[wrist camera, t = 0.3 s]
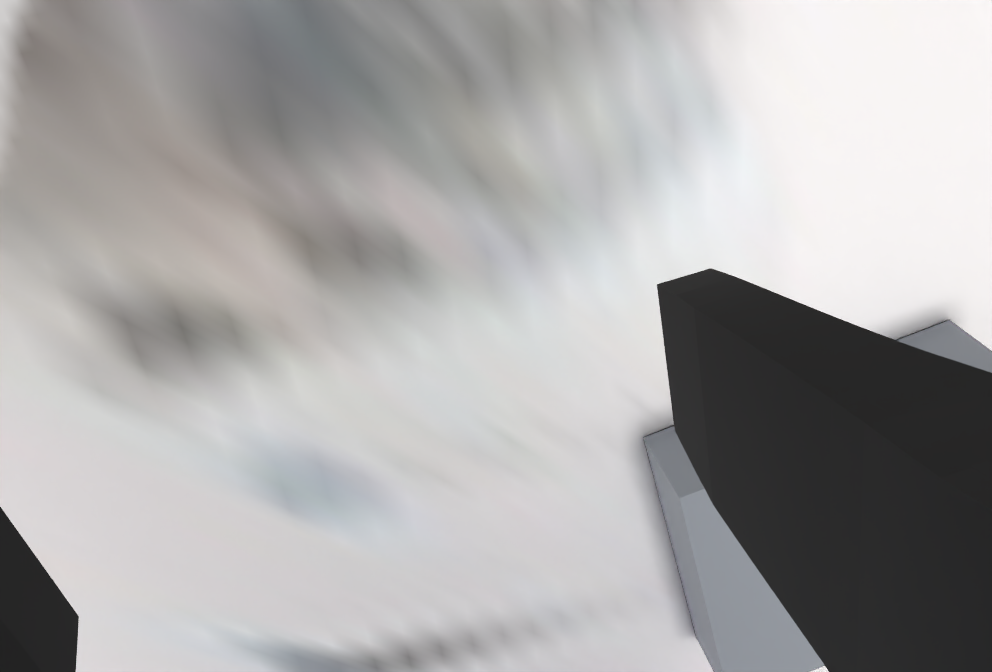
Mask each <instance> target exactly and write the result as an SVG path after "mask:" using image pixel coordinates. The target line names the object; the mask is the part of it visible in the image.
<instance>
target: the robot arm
mask: <svg viewBox="0 0 992 672" xmlns="http://www.w3.org/2000/svg"><path fill="white" fill-rule="evenodd" d="M657 288H658V296H659V305H660V313H661V321H662V329H663V337H664V346H665V354H666V362H667V370H668V378H669V386H670V395H671V403H672V411H673V419H674V427H675V432H676V434H677V436H678V438H679V440H680V442H681V444H682V446H683V448H684V450H685V452H686V454H687V456H688V458H689V460H690V462H691V464H692V466H693V468H694V470H695V472H696V474H697V475H698V477H699V479H700V481H701V483H702V485H703V487H704V489H705V490H706V492H707V494H708V496H709V498H710V500H711V502H712V504H713V505H714V507H715V508H716V510H717V511H718V513H719V514H720V516H721V517H722V519H723V520H724V522H725V523H726V525H727V526H728V527H729V529H730V530H731V532H732V533H733V535H734V536H735V538H736V539H737V540H738V542H739V543H740V545H741V546H742V548H743V549H744V551H745V552H746V553H747V555H748V556H749V558H750V559H751V561H752V562H753V564H754V565H755V566H756V568H757V569H758V571H759V572H760V574H761V575H762V576H763V578H764V579H765V581H766V582H767V584H768V585H769V586H770V588H771V589H772V591H773V592H774V594H775V595H776V596H777V598H778V599H779V601H780V602H781V604H782V605H783V606H784V608H785V609H786V611H787V612H788V614H789V615H790V616H791V618H792V619H793V621H794V622H795V624H796V625H797V626H798V628H799V629H800V631H801V632H802V634H803V635H804V636H805V638H806V639H807V641H808V642H809V644H810V645H811V646H812V648H813V649H814V651H815V652H816V654H817V655H818V656H819V658H820V659H821V661H822V662H823V663H824V665H825V666H826V668H827V669H828V671H829V672H992V373H991V372H988V371H985V370H982V369H979V368H976V367H973V366H970V365H967V364H964V363H961V362H958V361H955V360H952V359H948V358H945V357H942V356H939V355H936V354H933V353H930V352H927V351H924V350H921V349H919V348H916V347H913V346H910V345H907V344H905V343H902V342H899V341H896V340H893V339H891V338H888V337H885V336H883V335H880V334H877V333H875V332H872V331H869V330H867V329H864V328H861V327H859V326H856V325H854V324H851V323H849V322H846V321H843V320H841V319H838V318H836V317H833V316H831V315H828V314H826V313H823V312H821V311H818V310H816V309H813V308H811V307H808V306H806V305H803V304H801V303H798V302H796V301H794V300H791V299H789V298H786V297H784V296H781V295H779V294H776V293H774V292H772V291H769V290H767V289H764V288H762V287H759V286H757V285H754V284H752V283H749V282H747V281H744V280H742V279H739V278H737V277H734V276H731V275H729V274H726V273H723V272H720V271H717V270H714V269H707V270H704V271H701V272H697V273H694V274H691V275H687V276H684V277H680V278H677V279H674V280H670V281H667V282H664V283H660V284H657ZM78 619H79V616H78V615H77V613H76V612H75V611H74V609H73V608H72V606H71V605H70V604H69V602H68V601H67V600H66V598H65V597H64V595H63V594H62V593H61V591H60V590H59V588H58V587H57V586H56V584H55V583H54V581H53V580H52V579H51V577H50V576H49V574H48V573H47V572H46V570H45V569H44V567H43V566H42V565H41V563H40V562H39V560H38V559H37V558H36V556H35V555H34V553H33V552H32V551H31V549H30V548H29V546H28V545H27V544H26V542H25V541H24V539H23V538H22V537H21V535H20V534H19V532H18V531H17V530H16V528H15V527H14V525H13V524H12V523H11V521H10V520H9V518H8V517H7V516H6V514H5V513H4V511H3V510H2V509H1V507H0V672H75V670H76V655H77V637H78Z"/></svg>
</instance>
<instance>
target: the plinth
mask: <svg viewBox="0 0 992 672" xmlns="http://www.w3.org/2000/svg"><path fill="white" fill-rule="evenodd" d="M896 341H899V342H902V343H905V344H907V345H910V346H913V347H916V348H919V349H921V350H924V351H927V352H930V353H933V354H936V355H939V356H942V357H945V358H948V359H952V360H955V361H958V362H961V363H964V364H967V365H970V366H973V367H976V368H979V369H982V370H985V371H988V372H991V373H992V351H991V350H990V349H988V348H987V347H986V346H984V345H983V344H981V343H980V342H979V341H977V340H976V339H975V338H973V337H972V336H971V335H969V334H968V333H967V332H965V331H964V330H963V329H961V328H960V327H958V326H957V325H956V324H954V323H953V322H952V321H950V320H948V321H946V322H943V323H940V324H938V325H935V326H933V327H930V328H927V329H925V330H922V331H920V332H917V333H914V334H912V335H909V336H907V337H904V338H901V339H899V340H896ZM644 442H645V445H646V449H647V453H648V457H649V461H650V464H651V468H652V472H653V476H654V479H655V483H656V487H657V491H658V495H659V498H660V502H661V506H662V510H663V513H664V517H665V521H666V525H667V529H668V532H669V536H670V540H671V544H672V547H673V551H674V555H675V559H676V563H677V566H678V570H679V574H680V578H681V581H682V585H683V589H684V593H685V596H686V600H687V604H688V608H689V612H690V615H691V619H692V623H693V627H694V630H695V634H696V638H697V640H698V642H699V644H700V646H701V648H702V649H703V651H704V653H705V655H706V657H707V659H708V661H709V663H710V665H711V667H712V669H713V671H714V672H810V671H812V670H815V669H817V668H820V667H822V666H825V665H824V663H823V662H822V661H821V659H820V658H819V656H818V655H817V654H816V652H815V651H814V649H813V648H812V646H811V645H810V644H809V642H808V641H807V639H806V638H805V636H804V635H803V634H802V632H801V631H800V629H799V628H798V626H797V625H796V624H795V622H794V621H793V619H792V618H791V616H790V615H789V614H788V612H787V611H786V609H785V608H784V606H783V605H782V604H781V602H780V601H779V599H778V598H777V596H776V595H775V594H774V592H773V591H772V589H771V588H770V586H769V585H768V584H767V582H766V581H765V579H764V578H763V576H762V575H761V574H760V572H759V571H758V569H757V568H756V566H755V565H754V564H753V562H752V561H751V559H750V558H749V556H748V555H747V553H746V552H745V551H744V549H743V548H742V546H741V545H740V543H739V542H738V540H737V539H736V538H735V536H734V535H733V533H732V532H731V530H730V529H729V527H728V526H727V525H726V523H725V522H724V520H723V519H722V517H721V516H720V514H719V513H718V511H717V510H716V508H715V507H714V505H713V504H712V502H711V500H710V498H709V496H708V494H707V492H706V490H705V489H704V487H703V485H702V483H701V481H700V479H699V477H698V475H697V474H696V472H695V470H694V468H693V466H692V464H691V462H690V460H689V458H688V456H687V454H686V452H685V450H684V448H683V446H682V444H681V442H680V440H679V438H678V436H677V434H676V432H675V427H674V426H672V427H670V428H667V429H665V430H662V431H659V432H657V433H654V434H652V435H649V436H646V437H644Z"/></svg>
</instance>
